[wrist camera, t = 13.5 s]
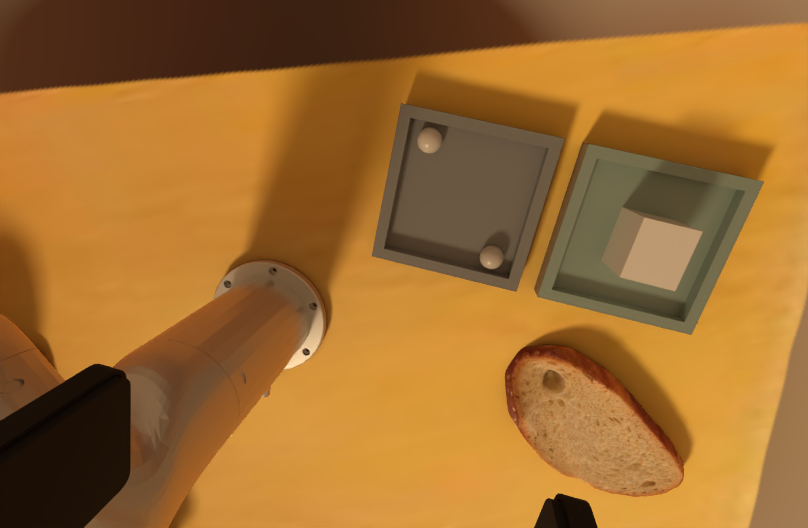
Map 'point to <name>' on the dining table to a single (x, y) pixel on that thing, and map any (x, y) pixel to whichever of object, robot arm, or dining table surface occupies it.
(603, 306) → the bin
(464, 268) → the bin
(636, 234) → the beige block
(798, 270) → the dining table surface
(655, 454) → the bread slice
